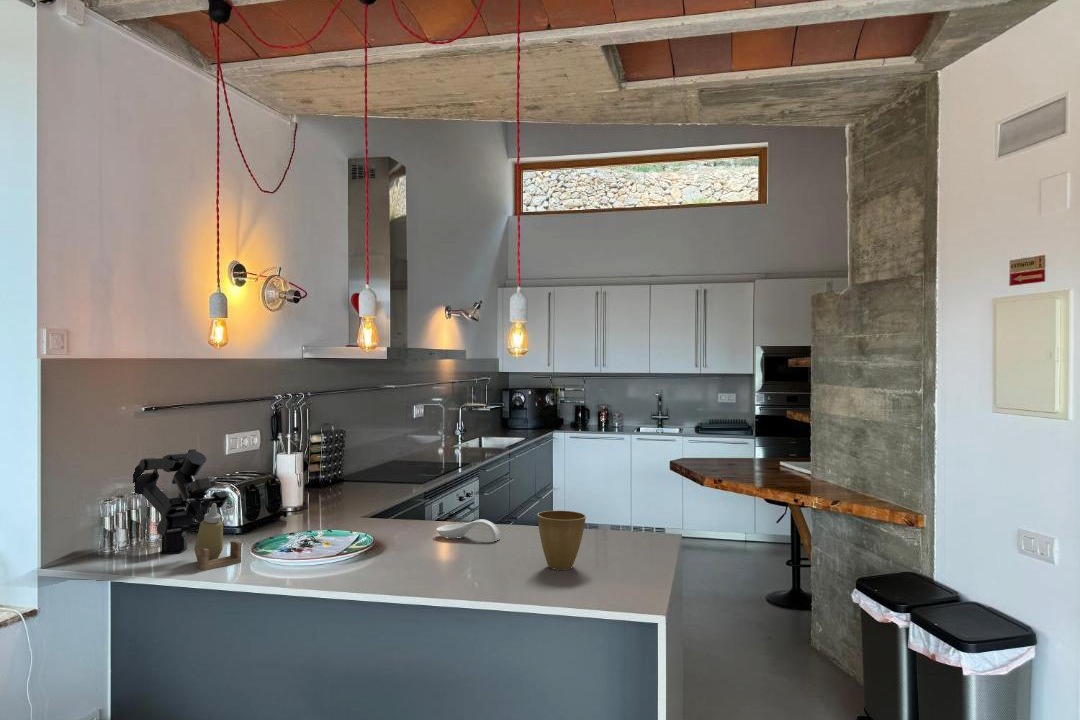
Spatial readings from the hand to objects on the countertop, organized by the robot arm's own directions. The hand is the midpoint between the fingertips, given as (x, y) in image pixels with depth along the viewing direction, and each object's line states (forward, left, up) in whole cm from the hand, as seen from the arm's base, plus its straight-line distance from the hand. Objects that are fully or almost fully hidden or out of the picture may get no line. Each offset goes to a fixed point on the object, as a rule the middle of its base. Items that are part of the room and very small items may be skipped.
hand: (206, 524), depth 221 cm
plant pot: (+110, -15, -12) cm, 111 cm away
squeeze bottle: (+1, -1, -11) cm, 11 cm away
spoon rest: (+81, +25, -12) cm, 86 cm away
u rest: (+6, -5, -11) cm, 14 cm away
